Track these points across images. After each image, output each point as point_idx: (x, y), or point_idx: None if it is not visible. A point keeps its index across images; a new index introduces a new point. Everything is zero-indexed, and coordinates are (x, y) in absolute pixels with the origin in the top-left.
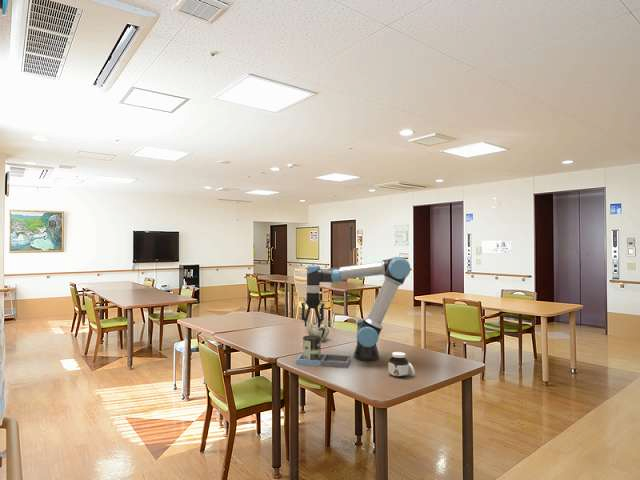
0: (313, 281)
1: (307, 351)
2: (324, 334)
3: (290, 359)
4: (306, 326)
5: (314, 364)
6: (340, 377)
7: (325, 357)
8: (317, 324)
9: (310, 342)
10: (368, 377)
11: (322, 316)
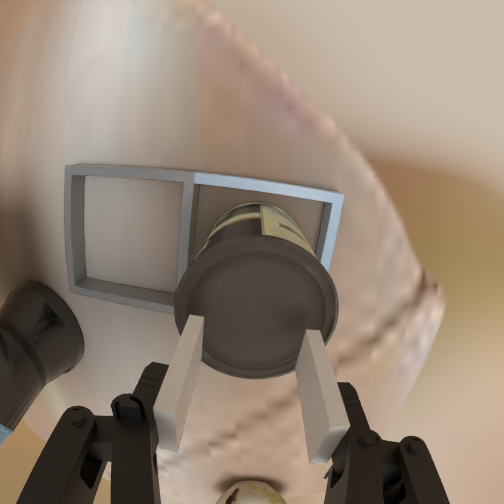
0: None
1: (283, 221)
2: (227, 497)
3: (366, 277)
4: (332, 374)
5: (233, 175)
6: (111, 31)
7: (178, 267)
8: (169, 382)
9: (263, 232)
10: (26, 73)
11: (49, 457)
